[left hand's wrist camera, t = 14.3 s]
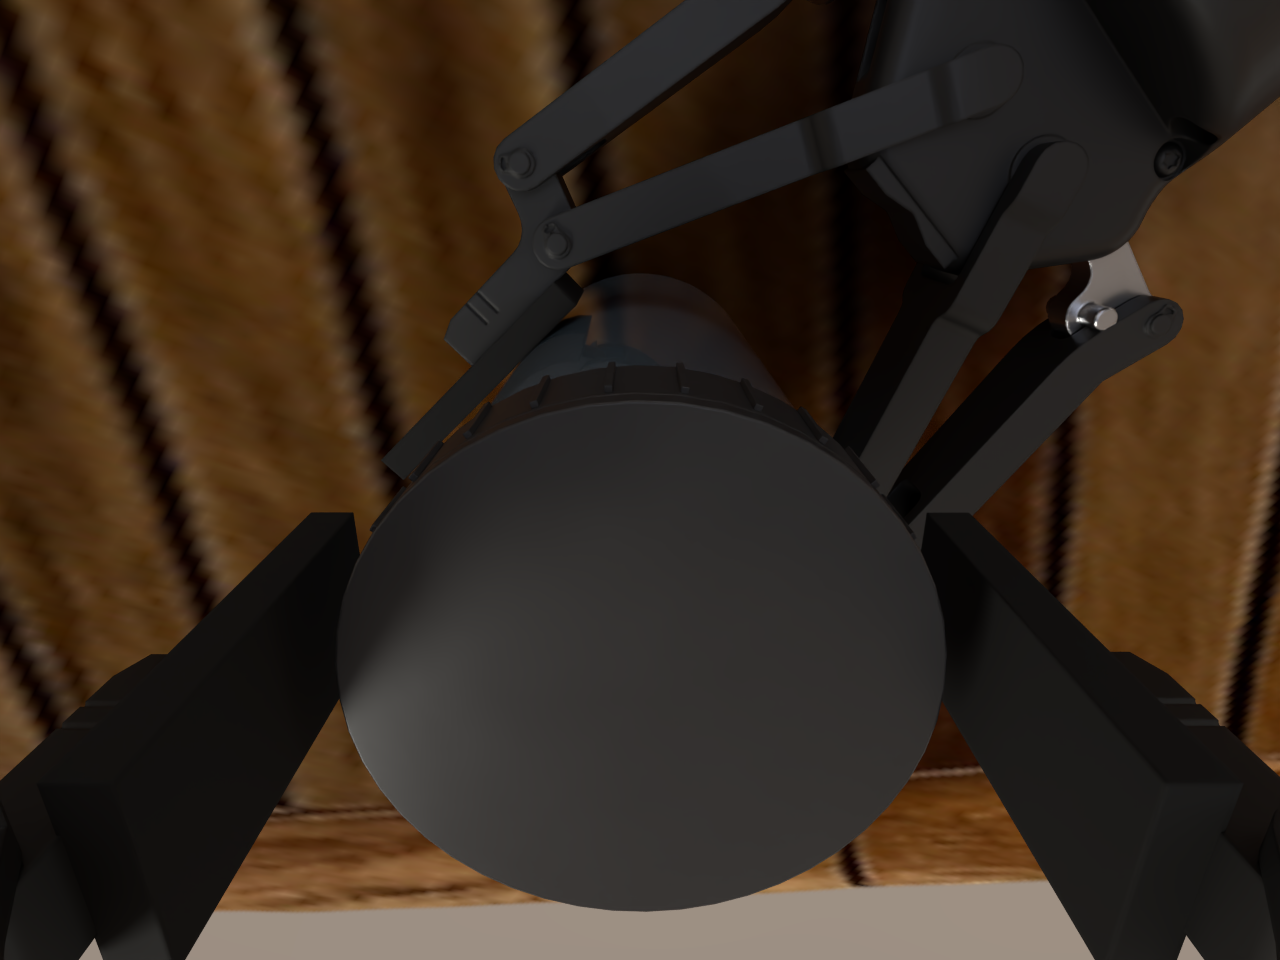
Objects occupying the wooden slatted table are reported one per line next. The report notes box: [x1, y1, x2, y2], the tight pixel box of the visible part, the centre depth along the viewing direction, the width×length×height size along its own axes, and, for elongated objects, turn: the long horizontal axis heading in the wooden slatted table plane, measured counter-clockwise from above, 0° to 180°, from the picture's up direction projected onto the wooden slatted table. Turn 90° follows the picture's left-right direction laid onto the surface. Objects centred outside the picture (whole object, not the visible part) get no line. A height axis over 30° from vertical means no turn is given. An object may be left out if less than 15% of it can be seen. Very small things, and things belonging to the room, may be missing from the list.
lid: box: [335, 361, 947, 912], centre depth 12 cm, size 9×9×2 cm
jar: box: [491, 273, 794, 408], centre depth 19 cm, size 8×8×17 cm
